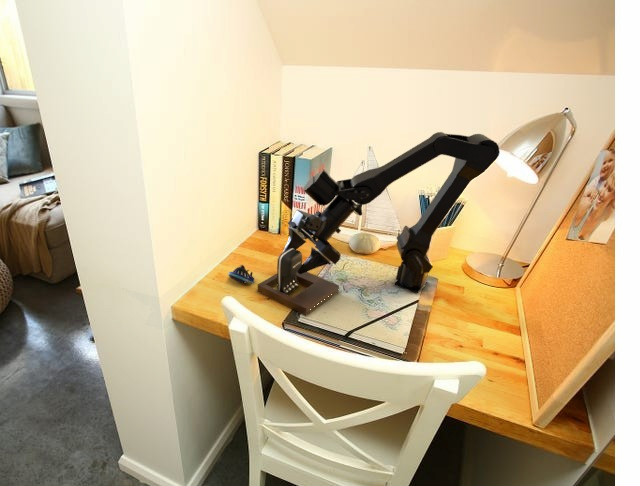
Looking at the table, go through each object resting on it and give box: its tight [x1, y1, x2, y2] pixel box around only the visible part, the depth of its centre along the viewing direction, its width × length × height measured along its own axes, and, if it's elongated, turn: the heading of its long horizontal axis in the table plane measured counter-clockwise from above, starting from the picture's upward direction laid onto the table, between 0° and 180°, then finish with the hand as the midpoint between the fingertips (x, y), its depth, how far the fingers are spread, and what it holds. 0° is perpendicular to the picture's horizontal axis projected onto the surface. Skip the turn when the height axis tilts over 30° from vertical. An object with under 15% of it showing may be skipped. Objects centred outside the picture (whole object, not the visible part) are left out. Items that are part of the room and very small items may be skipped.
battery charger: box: [276, 248, 303, 296], centre depth 103 cm, size 7×4×11 cm, turn 140°
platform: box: [257, 271, 340, 317], centre depth 104 cm, size 16×14×2 cm
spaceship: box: [227, 264, 255, 285], centre depth 110 cm, size 7×6×5 cm
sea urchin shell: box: [348, 232, 381, 255], centre depth 123 cm, size 9×8×8 cm
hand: (290, 264), depth 102 cm, fingers open, 9 cm apart
